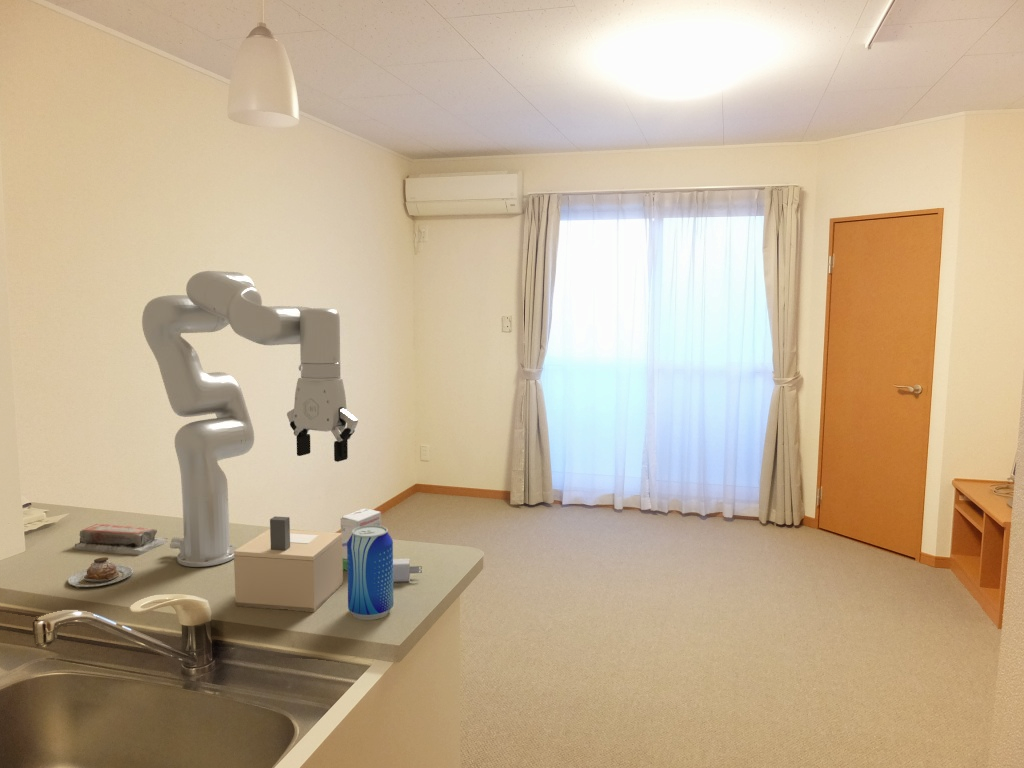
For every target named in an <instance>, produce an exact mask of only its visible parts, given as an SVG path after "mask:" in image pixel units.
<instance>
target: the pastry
mask: <svg viewBox="0 0 1024 768" xmlns="http://www.w3.org/2000/svg"><path fill="white" fill-rule="evenodd" d="M133 573H134V569H133V568H132V567H131V566H127V565H122V564H121V565H119V564H115V563H114V562H113V561H109V557H108V556H107V557H106V556H105V557H98V558H95V559H94V560H93V562H92V563H91V564H90V565H89V567H88V568H87V569H83V570H81V571H78V572H76V573H74V574H72V575H71V576H70V577H68V579H67V583H68V584H69V585H70V586H73V587H75V588H76V589H77V588H93V587H103V586H108V585H112V584H115V583H117V582H120V581H123V580H124V579H127V578H129V577H130V576H132V574H133ZM120 574H121V575H122V576H121V577H120V578H118V579H116V578H117V577H118V576H119V575H120ZM82 579H83V580H84V581H87V582H90V583H100V584H82V583H80V581H81V580H82ZM115 579H116V580H115ZM109 581H110V582H109Z"/></svg>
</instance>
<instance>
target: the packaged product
mask: <svg viewBox="0 0 1024 768" xmlns="http://www.w3.org/2000/svg"><path fill="white" fill-rule="evenodd" d="M157 532H158V531H157V529H155V528H148V527H137V526H130V525H129V526H128V525H120V524H119V525H117V524H109V523H96V524H92V525H91V526H88V527H85V528H83V529H81V530H80V531H79V542H77V543H74V546H73V547H74V548H73V549H74V550H76V551H77V550H80V551H89V552H90V551H91V552H100V553H107V554H108V553H109V554H120V555H121V554H122V555H133V556H134V555H135V556H140V555H143V554H145V553H147V552H149V551H151V550H154V549H156V548H157V547H160V546H161V545H164V544H166V543H168V540H169V538H167V537H164V538H163V537H156V534H157Z"/></svg>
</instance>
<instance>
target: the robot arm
mask: <svg viewBox="0 0 1024 768" xmlns="http://www.w3.org/2000/svg"><path fill="white" fill-rule="evenodd" d="M185 291H186V295H185V294H183V295H182V294H177V295H175V294H174V295H173V294H170V295H162V296H157V297H155V298H152V299H151V300H150V301H148V302H147V303H146V305H145V306H144V309H143V312H142V317H141V324H142V325H141V326H142V331H143V334H144V337H145V340H146V343H147V345H148V347H149V349H150V350H151V352H152V354H153V355H154V356H153V357H154V358H155V360H156V362H157V365H158V368H159V372H160V375H161V379H162V383H163V386H164V389H165V392H166V395H167V398H168V401H169V405H170V407H171V409H172V411H173V412H174V413H175V415H177V416H178V417H183V418H191V417H199V416H206V415H213V414H215V416H216V418H215V417H214V418H207V419H200V420H196V421H192V422H189V423H187V424H184V425H183V426H181V427H180V428H179V429H178V430H177V432H176V434H175V436H174V448H175V452H176V457H177V461H178V465H179V470H180V481H181V498H182V501H181V502H182V521H183V525H182V527H183V537H178V536H174V537H172V538H171V541H170V544H169V548H170V549H179V553H178V555H177V557H176V559H177V563H178V564H179V565H181V566H185V567H189V568H190V567H191V568H204V567H212V566H217V565H221V564H222V565H223V564H225V563H228V562H230V561H232V560H234V551H235V550H237V549H238V548H237V547H236V546H234V545H232V544H231V543H230V541H231V540H230V517H229V514H230V513H229V491H228V490H229V488H228V487H229V486H228V484H229V483H228V479H227V476H226V473H225V472H224V470H222V468H221V466H220V465H219V463H218V461H221V460H226V459H230V458H234V457H236V458H237V457H238V456H243V455H245V454H247V453H249V452H250V451H251V450H252V448H253V446H254V444H255V443H254V442H255V432H254V427H253V423H252V420H251V417H250V413H249V411H248V406H247V404H246V400H245V397H244V395H243V391H242V389H241V386H240V384H239V383H238V381H237V380H236V379H235V378H234V377H233V376H232V375H231V374H230V373H227V372H221V371H219V372H218V371H217V372H216V371H214V372H205V371H204V369H203V366H202V364H201V361H200V357H199V354H198V352H197V351H196V349H195V348H194V347H193V346H192V345H191V344H190V343H189V342H188V341H187V340H186V339H185V338H183V336H182V334H198V333H200V334H202V333H204V334H205V333H214V332H215V333H216V332H218V331H221V330H222V329H225V328H226V327H228V326H230V327H231V329H232V331H233V332H234V334H237V335H238V336H240V337H242V338H243V339H246V340H248V341H251V342H252V343H256V344H259V345H263V346H280V345H281V346H283V345H284V346H285V345H300V346H299V347H300V350H299V351H300V354H299V355H300V364H299V365H298V371H299V372H300V377H298V378H297V382H296V387H295V394H294V405H293V407H294V408H293V409H291V410H289V411H288V412H287V413H286V416H287V418H288V421H289V426H290V428H291V429H292V431H293V435H294V436H295V437H296V455H297V456H299V457H301V456H306V455H310V453H311V434H310V433H309V431H310V430H311V431H317V432H331V433H332V435H333V437H334V438H335V439H336V440H334V442H333V460H334V462H337V463H339V462H342V461H345V460H348V457H349V455H348V454H349V452H348V451H349V450H348V443H349V442H348V440H350V439H351V437H352V435H353V434H354V433H355V429H356V427H357V425H358V423H359V422H358V421H359V420H358V418H356V417H355V416H354V415H353V414H351V413H350V412H349V411H348V410H347V397H346V392H345V391H346V390H345V386H344V380H343V379H342V378H341V329H340V328H341V324H340V323H341V319H340V317H341V316H340V314H339V312H338V311H337V310H336V309H334V308H324V307H323V308H322V307H321V308H319V307H317V308H312V307H307V306H291V305H290V306H289V305H288V306H283V305H281V306H267V305H263V301H262V297H261V294H260V292H259V290H257V289H256V286H255V284H254V281H253V280H252V279H251V278H250V277H249V276H248V275H246V274H245V273H242V272H239V271H238V272H237V271H236V272H235V271H221V270H204V271H199V272H198V273H194V275H192V276H191V277H190V278H189V280H187V283H186V288H185Z"/></svg>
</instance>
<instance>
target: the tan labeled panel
mask: <svg viewBox="0 0 1024 768" xmlns="http://www.w3.org/2000/svg"><path fill="white" fill-rule="evenodd" d="M290 520H291V519H290V516H273V517H271V518H270V519H269V528H268V529H267V530H265V531H264V532H262V533H260V534H259V535H257V536H256V537H254V538H252V539H250V540H249V541H247V542H246V543H244V544H243V545H241V546H240V547H238V548H237V550H235V551H234V555H237V556H251V557H266V558H281V559H296V560H311V561H313V560H315V559H316V558H317V557H318V556H320V555H321V554H322V553H323V552H324V551H326V550H327V549H328V548H329V547H330V546H332V545H333V544H334V543H335V542H336V541H338V540H339V539H340V538H341V537H342V533H341V532H330V531H329V532H328V531H316V530H315V531H314V530H313V531H312V530H296V529H290V528H291V527H290V526H291V524H290V522H291V521H290Z"/></svg>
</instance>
